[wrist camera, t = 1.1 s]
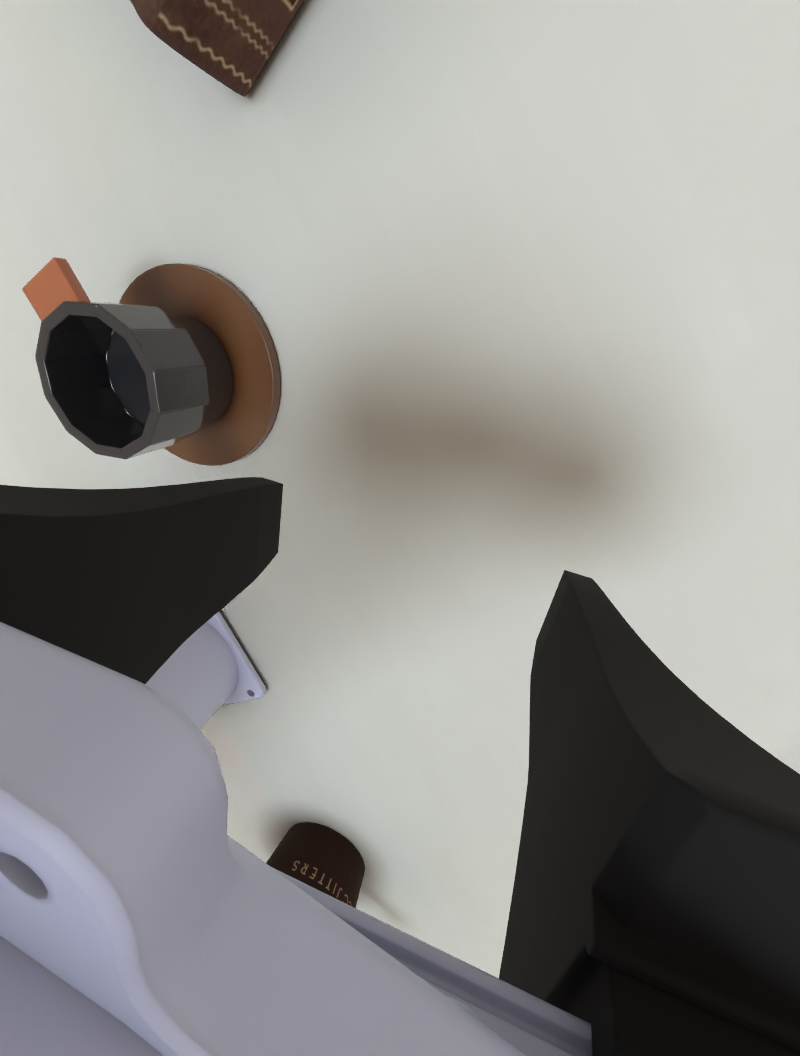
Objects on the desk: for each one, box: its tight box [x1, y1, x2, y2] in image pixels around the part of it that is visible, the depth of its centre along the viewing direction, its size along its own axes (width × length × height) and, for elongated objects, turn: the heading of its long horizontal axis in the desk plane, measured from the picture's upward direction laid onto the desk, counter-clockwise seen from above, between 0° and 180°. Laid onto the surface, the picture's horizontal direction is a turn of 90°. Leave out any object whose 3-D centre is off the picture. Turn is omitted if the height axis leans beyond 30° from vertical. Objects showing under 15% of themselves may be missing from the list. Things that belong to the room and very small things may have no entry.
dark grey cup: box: [23, 258, 233, 459], centre depth 20 cm, size 6×7×5 cm
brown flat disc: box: [112, 264, 281, 466], centre depth 22 cm, size 9×9×1 cm
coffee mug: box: [266, 823, 365, 908], centre depth 31 cm, size 12×9×10 cm
